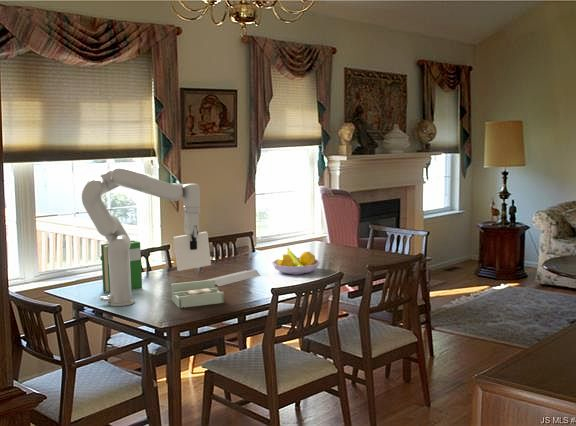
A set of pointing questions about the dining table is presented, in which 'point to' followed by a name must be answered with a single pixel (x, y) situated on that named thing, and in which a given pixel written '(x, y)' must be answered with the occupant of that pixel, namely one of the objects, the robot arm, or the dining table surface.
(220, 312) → the dining table surface
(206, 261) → the sheet
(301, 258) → the fruit bowl
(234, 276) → the crown molding
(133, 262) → the hardback book
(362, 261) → the dining table surface
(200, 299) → the tray
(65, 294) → the dining table surface
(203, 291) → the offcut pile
